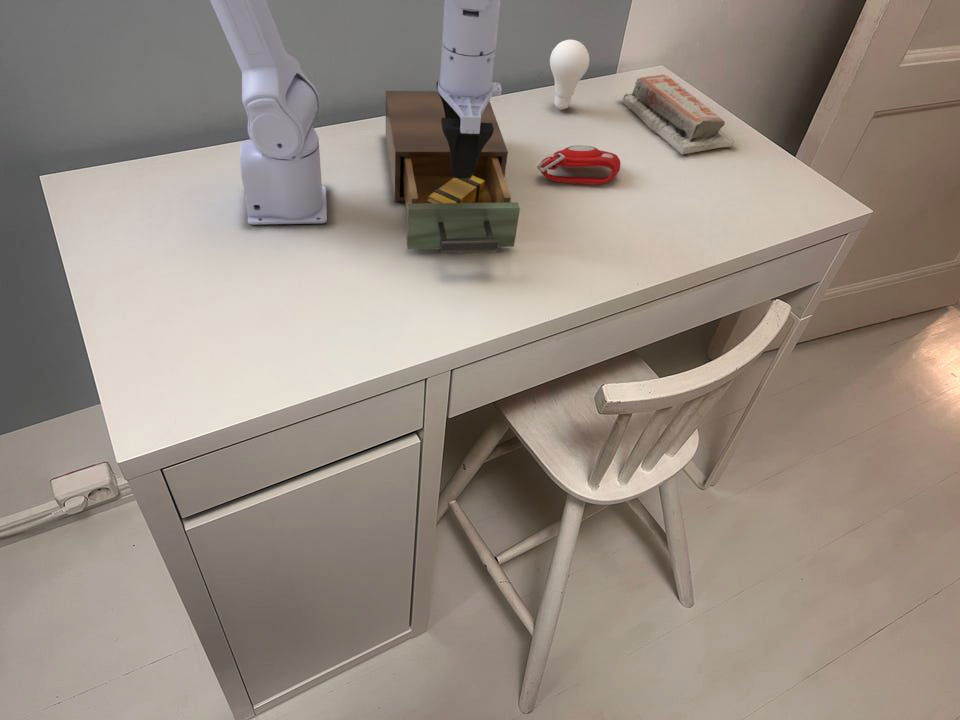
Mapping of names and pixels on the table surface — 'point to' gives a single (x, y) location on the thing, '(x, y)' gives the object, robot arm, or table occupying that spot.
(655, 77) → the packaged product
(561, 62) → the lightbulb
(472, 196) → the pencil bundle
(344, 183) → the table surface
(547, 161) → the tracker holder
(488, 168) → the drawer
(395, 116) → the cabinet
